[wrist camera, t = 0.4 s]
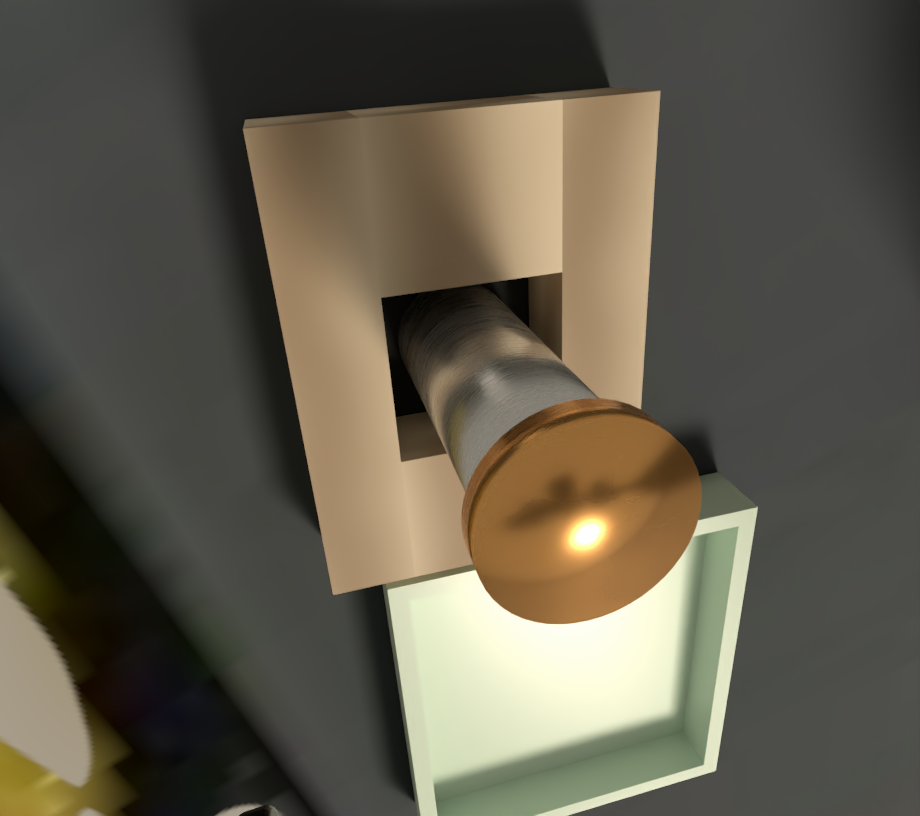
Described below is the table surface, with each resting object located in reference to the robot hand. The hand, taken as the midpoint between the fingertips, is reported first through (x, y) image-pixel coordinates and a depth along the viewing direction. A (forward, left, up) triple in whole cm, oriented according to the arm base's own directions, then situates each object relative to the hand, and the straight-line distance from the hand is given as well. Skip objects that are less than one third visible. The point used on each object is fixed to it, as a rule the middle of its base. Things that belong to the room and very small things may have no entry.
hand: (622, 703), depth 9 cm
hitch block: (-1, 0, -12) cm, 12 cm away
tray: (-4, +13, -12) cm, 18 cm away
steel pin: (-1, 0, -12) cm, 12 cm away
